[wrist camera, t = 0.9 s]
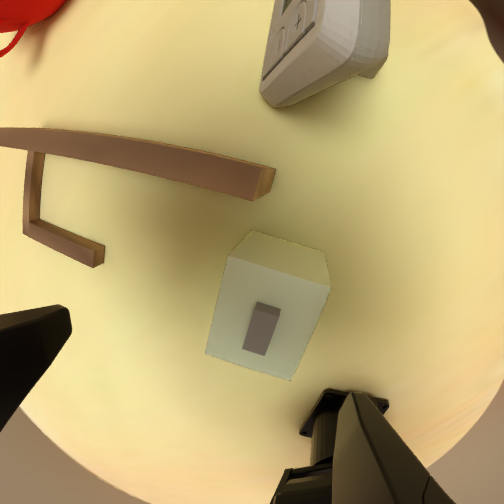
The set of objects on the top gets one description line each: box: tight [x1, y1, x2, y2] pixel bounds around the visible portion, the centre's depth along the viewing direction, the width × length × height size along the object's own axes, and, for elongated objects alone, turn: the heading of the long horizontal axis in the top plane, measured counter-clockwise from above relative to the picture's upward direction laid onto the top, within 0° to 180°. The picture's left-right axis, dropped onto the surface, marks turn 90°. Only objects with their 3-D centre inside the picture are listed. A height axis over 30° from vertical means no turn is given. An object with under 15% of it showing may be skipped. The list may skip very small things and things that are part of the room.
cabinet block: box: [205, 230, 331, 381], centre depth 16 cm, size 6×5×7 cm
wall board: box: [0, 128, 276, 268], centre depth 17 cm, size 10×23×6 cm, turn 75°
